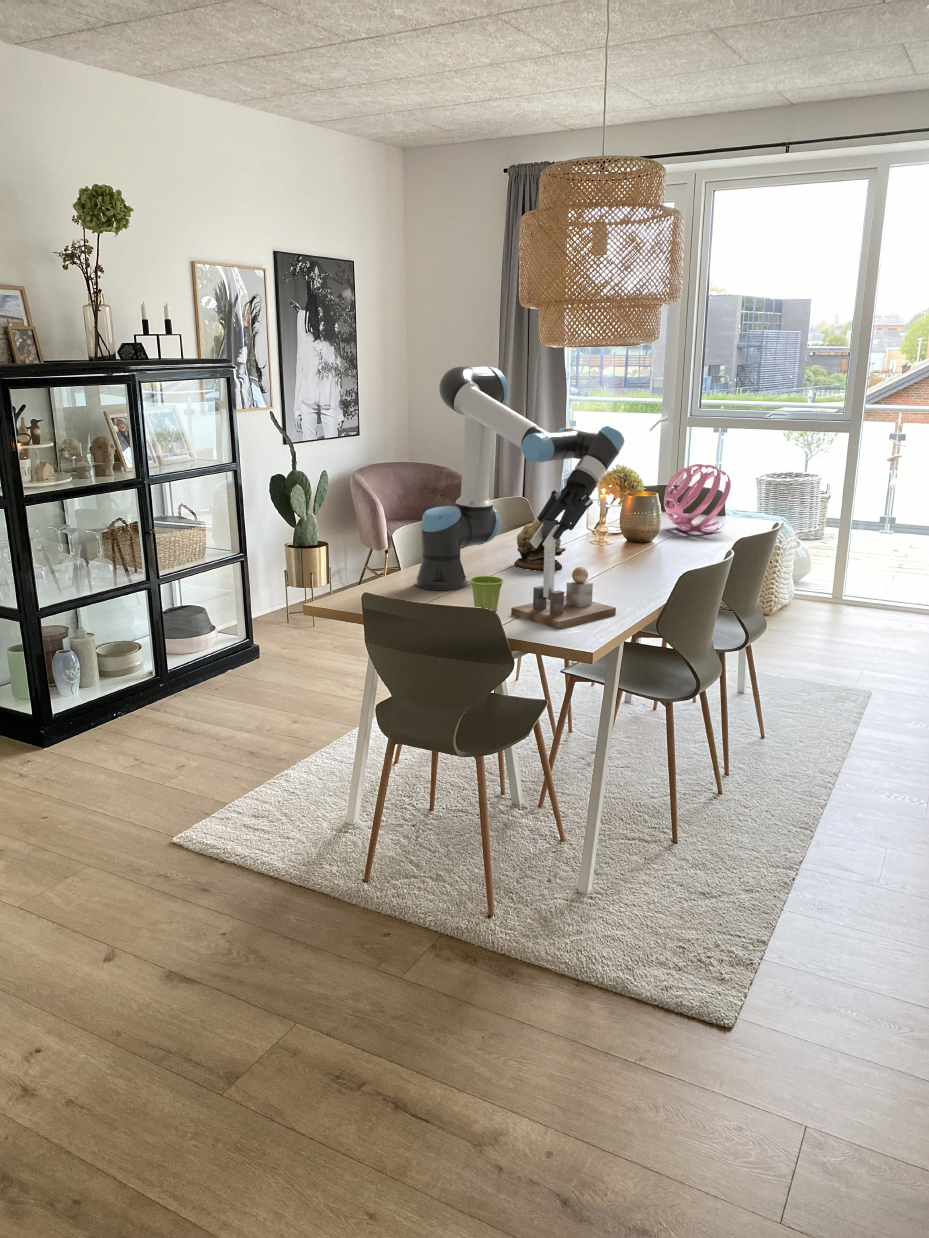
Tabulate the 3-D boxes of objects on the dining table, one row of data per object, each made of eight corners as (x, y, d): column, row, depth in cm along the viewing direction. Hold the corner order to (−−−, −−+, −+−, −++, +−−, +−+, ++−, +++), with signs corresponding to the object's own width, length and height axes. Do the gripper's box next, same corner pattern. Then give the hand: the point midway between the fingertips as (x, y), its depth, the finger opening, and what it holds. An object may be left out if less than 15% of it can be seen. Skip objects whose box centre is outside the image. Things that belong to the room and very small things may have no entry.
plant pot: (501, 605, 265) (502, 575, 263) (504, 614, 256) (504, 583, 254) (468, 605, 265) (468, 575, 263) (469, 614, 256) (470, 583, 254)
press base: (511, 614, 256) (511, 586, 254) (567, 601, 270) (568, 574, 268) (558, 629, 243) (559, 599, 241) (615, 614, 256) (617, 586, 254)
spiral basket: (738, 478, 386) (689, 441, 377) (760, 504, 362) (709, 466, 353) (691, 529, 397) (643, 495, 387) (710, 558, 372) (660, 522, 363)
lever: (537, 599, 251) (539, 520, 246) (548, 596, 254) (550, 518, 248) (548, 602, 248) (550, 522, 243) (559, 599, 251) (561, 520, 245)
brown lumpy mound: (571, 567, 314) (573, 516, 310) (556, 574, 305) (558, 522, 300) (523, 560, 323) (524, 511, 318) (507, 567, 313) (507, 516, 309)
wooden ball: (568, 582, 258) (568, 566, 257) (579, 580, 261) (579, 564, 260) (580, 585, 255) (580, 569, 254) (591, 583, 258) (591, 567, 256)
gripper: (616, 490, 247) (570, 560, 241) (568, 483, 259) (523, 550, 253) (603, 471, 242) (556, 542, 236) (555, 465, 254) (509, 532, 249)
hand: (539, 546), depth 245 cm, fingers closed on lever, 4 cm apart
